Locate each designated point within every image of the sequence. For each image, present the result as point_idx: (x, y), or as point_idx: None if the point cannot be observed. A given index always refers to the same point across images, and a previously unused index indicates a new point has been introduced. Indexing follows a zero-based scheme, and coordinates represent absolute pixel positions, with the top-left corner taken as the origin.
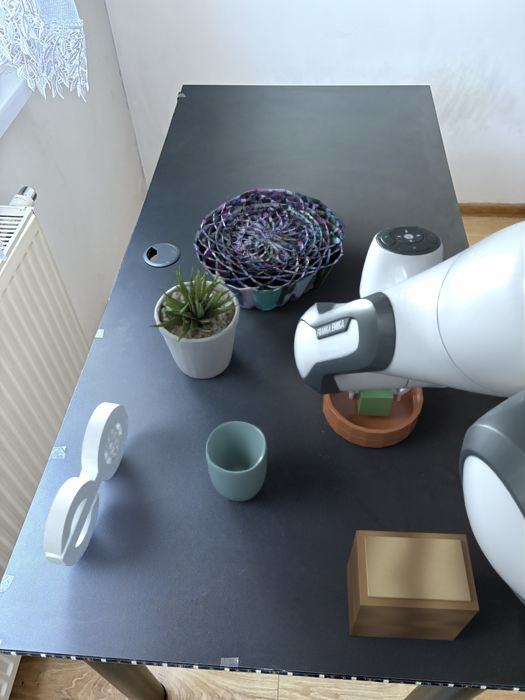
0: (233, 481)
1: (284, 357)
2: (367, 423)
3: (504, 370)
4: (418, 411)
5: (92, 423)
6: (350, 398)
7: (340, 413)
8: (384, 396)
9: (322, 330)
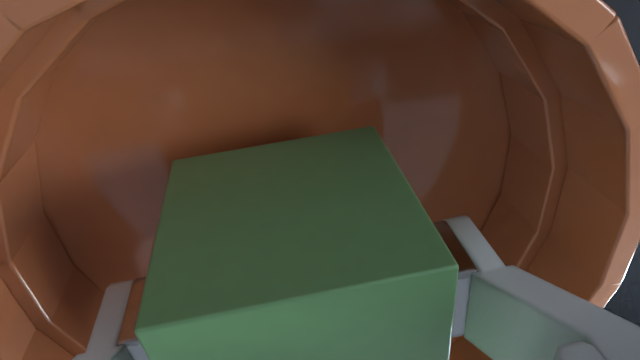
0: None
1: (621, 313)
2: (298, 91)
3: None
4: None
5: None
6: (469, 223)
7: (451, 124)
8: (232, 324)
9: None
